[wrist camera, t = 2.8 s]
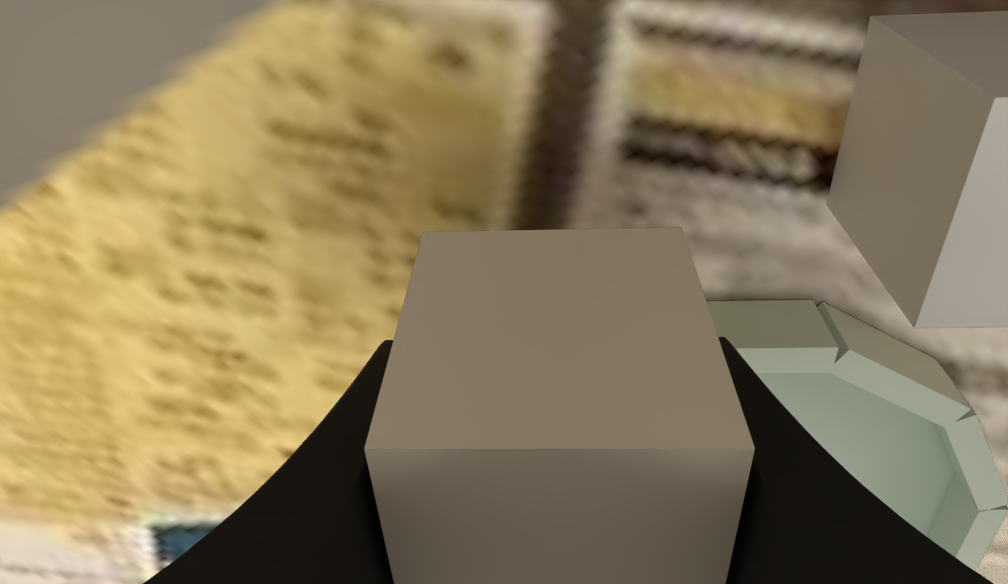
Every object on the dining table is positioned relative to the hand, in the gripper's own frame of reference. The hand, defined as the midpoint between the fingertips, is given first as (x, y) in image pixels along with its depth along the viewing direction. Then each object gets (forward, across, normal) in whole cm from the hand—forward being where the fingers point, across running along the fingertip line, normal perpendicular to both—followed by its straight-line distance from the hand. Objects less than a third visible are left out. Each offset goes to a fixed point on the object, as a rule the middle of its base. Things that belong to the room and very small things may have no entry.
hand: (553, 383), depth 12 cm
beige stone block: (+1, 0, 0) cm, 1 cm away
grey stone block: (+7, -9, -2) cm, 11 cm away
